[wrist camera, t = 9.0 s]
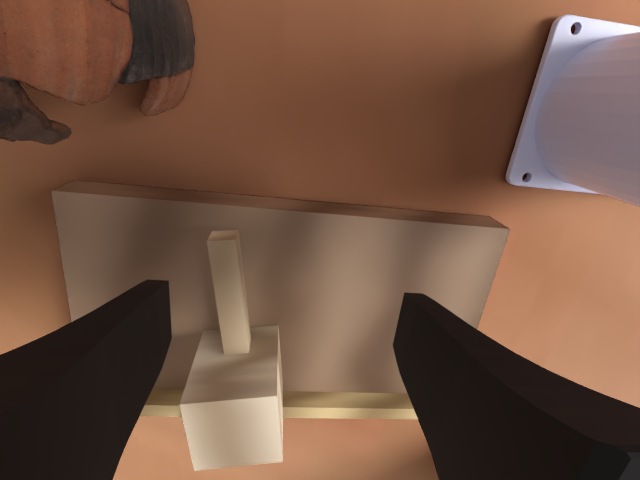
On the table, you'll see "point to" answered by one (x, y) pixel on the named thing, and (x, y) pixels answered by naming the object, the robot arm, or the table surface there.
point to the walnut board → (280, 281)
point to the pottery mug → (89, 57)
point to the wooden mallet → (233, 376)
